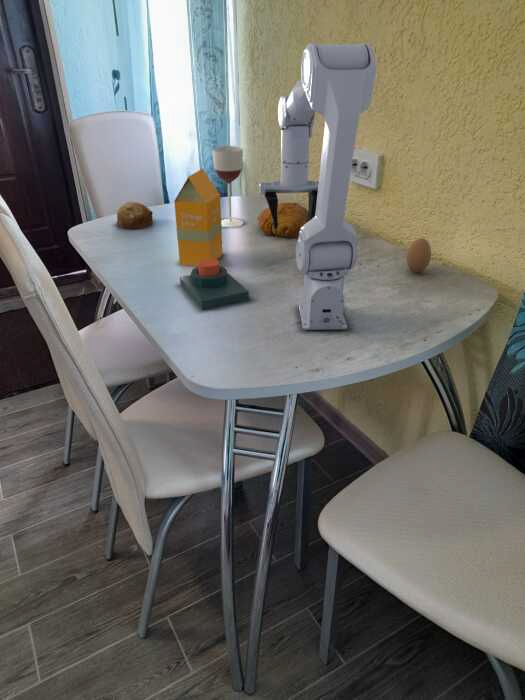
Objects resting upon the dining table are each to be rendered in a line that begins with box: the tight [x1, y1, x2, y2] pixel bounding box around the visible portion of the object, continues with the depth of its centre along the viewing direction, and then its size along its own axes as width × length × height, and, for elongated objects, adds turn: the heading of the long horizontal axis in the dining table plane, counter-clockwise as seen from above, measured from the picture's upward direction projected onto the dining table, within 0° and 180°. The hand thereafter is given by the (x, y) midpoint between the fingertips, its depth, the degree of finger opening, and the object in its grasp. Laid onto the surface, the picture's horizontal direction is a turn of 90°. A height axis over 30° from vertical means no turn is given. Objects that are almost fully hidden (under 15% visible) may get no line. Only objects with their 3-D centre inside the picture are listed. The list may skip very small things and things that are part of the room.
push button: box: [197, 259, 221, 276], centre depth 103 cm, size 4×4×2 cm
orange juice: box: [174, 168, 224, 267], centre depth 115 cm, size 8×9×20 cm
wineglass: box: [212, 145, 244, 228], centre depth 139 cm, size 8×9×20 cm
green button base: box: [179, 265, 250, 311], centre depth 103 cm, size 13×10×4 cm
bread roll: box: [116, 201, 154, 230], centre depth 142 cm, size 10×10×8 cm
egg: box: [405, 237, 432, 274], centre depth 112 cm, size 5×5×8 cm
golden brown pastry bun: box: [257, 201, 309, 238], centre depth 138 cm, size 14×16×8 cm
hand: (292, 226), depth 110 cm, fingers open, 7 cm apart
